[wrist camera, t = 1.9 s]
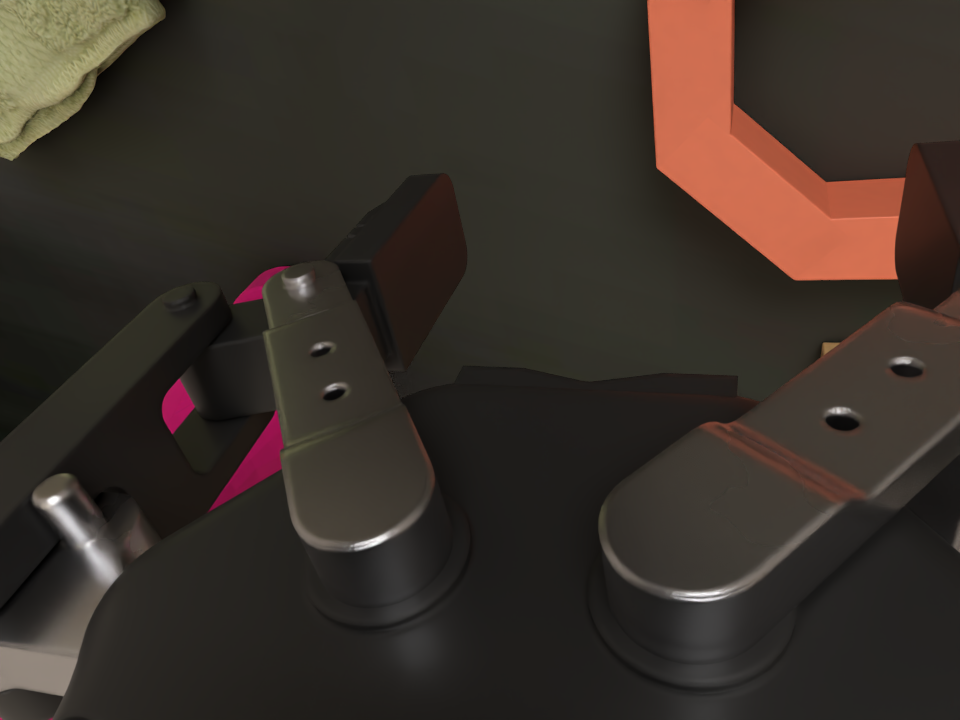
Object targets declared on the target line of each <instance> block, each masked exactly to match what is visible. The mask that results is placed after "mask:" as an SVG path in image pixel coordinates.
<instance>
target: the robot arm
mask: <svg viewBox="0 0 960 720" xmlns="http://www.w3.org/2000/svg"><path fill="white" fill-rule="evenodd" d="M356 226H357V228H353V229H352V231H351V232H350V233H349V234H348V235H347V238H344V239H343V240H342V242H341V243H340V244H339V245H338V246H337V247H336V248H335V249H334V250H333V251H332V253H331V254H330V255H329V256H328V257H327V258H326V259H325V260H314V261H307V262H303V263H299V264H296V265H293V266H290V267H288V268H286V269H283V270H282V271H280V272H278V273H276V274H275V275H273V276H272V277H271V278H270V279H268V281H267V282H266V283H265V284H264V286H263V288H262V296H263V298H262V299H257V300H252V301H247V302H242V303H236V304H231V305H228V303H227V301H226V299H225V297H224V295H223V292H222V290H221V288H220V286H219V285H218V284H216V283H213V282H196V283H190V284H187V285H183V286H179V287H176V288H174V289H172V290H170V291H168V292H166V293H164V294H163V295H161V296H159V297H158V298H156V299H155V300H154V301H152V302H151V303H150V304H149V305H148V306H147V307H146V308H145V309H144V310H143V311H141V312H140V313H139V314H138V315H137V316H136V317H135V318H134V319H133V320H132V321H131V322H130V323H129V324H127V325H126V326H125V327H124V328H123V329H122V330H121V331H120V332H119V333H118V334H117V335H116V336H114V337H113V338H112V339H111V340H110V341H109V342H108V343H107V344H106V345H105V346H104V347H103V348H102V349H100V350H99V351H98V352H97V353H96V354H95V355H94V356H93V357H92V358H91V359H90V360H89V361H88V362H86V363H85V364H84V365H83V366H82V367H81V368H80V369H79V370H78V371H77V372H76V373H75V374H73V375H72V376H71V377H70V378H69V379H68V380H67V381H66V382H65V383H64V384H63V385H62V386H61V387H59V388H58V389H57V390H56V391H55V392H54V393H53V394H52V395H51V396H50V397H49V398H48V399H47V400H45V401H44V402H43V403H42V404H41V405H40V406H39V407H38V408H37V409H36V410H35V411H34V412H32V413H31V414H30V415H29V416H28V417H27V418H26V419H25V420H24V421H23V422H22V423H21V424H20V425H18V426H17V427H16V428H15V429H14V430H13V431H12V432H11V433H10V434H9V435H8V436H7V437H5V438H4V439H3V440H2V441H1V442H0V718H2V719H3V720H49V719H51V718H52V720H960V141H946V142H931V143H916V144H914V145H913V147H912V149H911V152H910V155H909V159H908V165H907V171H906V177H905V183H904V189H903V195H902V201H901V207H900V214H899V220H898V226H897V232H896V239H895V270H896V274H897V278H898V282H899V285H900V289H901V293H902V297H903V300H904V301H898V302H896V303H894V304H892V305H891V306H889V307H888V308H887V309H885V310H884V311H883V312H881V313H880V314H879V315H877V316H876V317H875V318H873V319H872V320H871V321H869V322H868V323H866V324H865V325H864V326H862V327H861V328H860V329H858V330H857V331H856V332H854V333H853V334H852V335H850V336H849V337H848V338H846V339H845V340H844V341H842V342H841V343H840V344H838V345H837V346H835V347H834V348H833V349H831V350H830V351H829V352H827V353H826V354H825V355H823V356H822V357H821V358H819V359H818V360H817V361H815V362H814V363H813V364H811V365H810V366H809V367H807V368H806V369H805V370H803V371H802V372H800V373H799V374H798V375H796V376H795V377H794V378H792V379H791V380H790V381H788V382H787V383H786V384H784V385H783V386H782V387H780V388H779V389H778V390H776V391H775V392H774V393H772V394H771V395H769V396H768V397H767V398H765V399H764V400H763V401H761V402H758V401H755V400H752V399H748V398H744V397H740V396H737V385H738V376H727V375H700V374H673V373H660V374H652V375H644V376H636V377H628V378H619V379H611V380H603V381H594V382H585V381H580V380H575V379H571V378H566V377H562V376H557V375H553V374H548V373H544V372H539V371H535V370H530V369H526V368H508V367H480V366H463V367H462V369H461V371H460V373H459V375H458V377H457V379H456V381H455V383H453V384H446V385H442V386H437V387H433V388H429V389H426V390H423V391H419V392H417V393H414V394H412V395H409V396H407V397H405V398H402V399H400V398H399V395H398V393H397V391H396V389H395V386H394V384H393V382H392V380H391V377H390V375H389V373H388V371H403V372H406V370H407V368H408V367H409V365H410V363H411V362H412V360H413V358H414V357H415V355H416V353H417V352H418V350H419V348H420V347H421V345H422V343H423V342H424V340H425V338H426V337H427V335H428V334H429V332H430V330H431V329H432V327H433V325H434V324H435V322H436V320H437V319H438V317H439V315H440V314H441V312H442V310H443V309H444V307H445V305H446V304H447V302H448V300H449V299H450V297H451V295H452V294H453V292H454V290H455V289H456V287H457V285H458V284H459V282H460V281H461V279H462V277H463V275H464V273H465V270H466V265H467V247H466V242H465V237H464V233H463V228H462V224H461V219H460V215H459V210H458V206H457V201H456V197H455V192H454V188H453V185H452V182H451V180H450V178H449V176H448V175H447V174H444V173H442V174H427V175H411V176H409V177H408V178H407V179H406V180H405V181H404V182H403V183H402V184H401V185H400V186H399V188H398V189H397V190H396V191H395V192H394V193H393V194H392V195H391V197H390V198H389V199H388V200H387V201H386V202H384V203H383V204H381V205H379V206H378V207H376V208H374V209H373V210H371V211H369V212H368V213H367V214H366V215H365V216H364V217H363V218H362V220H361V221H360V222H359V223H358V224H357V225H356ZM178 379H180V381H181V382H182V384H183V386H184V388H185V390H186V392H187V393H188V395H189V397H190V399H191V401H192V402H193V404H194V406H195V407H194V409H193V410H192V411H191V412H190V414H189V415H188V416H187V417H186V418H185V420H184V421H183V422H182V423H181V424H180V426H179V427H178V428H177V429H176V431H175V432H174V433H173V434H172V433H171V431H170V430H169V428H168V426H167V425H166V423H165V421H164V418H163V414H162V404H163V400H164V397H165V395H166V393H167V392H168V391H169V389H170V388H171V387H172V386H173V385H174V384H175V383H176V382H177V380H178ZM275 410H277V413H278V418H279V424H280V429H281V434H282V440H283V446H284V448H283V449H281V450H280V460H281V466H282V469H281V470H279V471H277V472H275V473H274V474H272V475H270V476H269V477H267V478H265V479H264V480H262V481H260V482H259V483H257V484H255V485H254V486H252V487H250V488H248V489H247V490H245V491H243V492H242V493H240V494H238V495H237V496H235V497H233V498H232V499H230V500H228V501H226V502H225V503H223V504H221V505H220V506H218V507H216V508H215V509H213V510H211V511H210V512H208V511H209V510H210V508H211V507H212V505H213V504H214V502H215V501H216V500H217V498H218V497H219V495H220V494H221V492H222V491H223V489H224V488H225V486H226V485H227V484H228V482H229V481H230V479H231V478H232V476H233V475H234V473H235V472H236V470H237V469H238V468H239V466H240V465H241V463H242V462H243V460H244V459H245V457H246V456H247V454H248V453H249V452H250V450H251V449H252V447H253V446H254V444H255V443H256V441H257V440H258V438H259V437H260V435H261V434H262V433H263V431H264V430H265V428H266V427H267V425H268V424H269V422H270V421H271V419H272V418H273V416H274V413H275Z"/></svg>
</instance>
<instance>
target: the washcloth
mask: <svg viewBox="0 0 960 720" xmlns="http://www.w3.org/2000/svg"><path fill="white" fill-rule="evenodd" d="M165 16H166V13H165V8H164V7H163V6H162V4H161V3H160V1H159V0H0V157H4V158H6V159H9V160H11V161H13V159H14V158H18V157H19V154H20V153H21V152H22V151H25V149H26V148H27V147H28V146H29V145H30V144H32V143H33V142H35V141H36V139H38V138H41V137H42V136H44V135H45V134H47V133H49V132H50V131H51V130H53V129H54V128H56V127H58V126H59V125H60V124H61V123H62V122H64V121H66V120H68V119H69V118H70V117H71V116H72V115H74V114H75V113H76V112H78V111H79V110H80V109H81V107H82V105H83V104H84V102H85V101H86V100H87V99H88V97H89V96H90V94H91V92H92V91H93V89H94V87H95V83H96V79H97V76H98V75H99V74H100V73H101V72H103V71H104V70H105V69H106V68H108V67H109V66H110V65H111V64H112V63H113V62H114V61H115V60H116V59H118V57H119V56H120V55H121V54H122V53H123V52H124V51H125V50H126V49H127V48H128V47H129V46H130V45H132V44H133V43H134V42H135V41H136V39H137V38H138V37H139V36H141V35H142V34H143V33H145V32H146V31H147V30H149V29H151V28H152V27H153V26H154V25H155V24H157V23H158V22H159V21H161V20H164V18H165Z"/></svg>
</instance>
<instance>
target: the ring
mask: <svg viewBox="0 0 960 720" xmlns="http://www.w3.org/2000/svg"><path fill="white" fill-rule="evenodd" d="M647 8H648V26H649V44H650V62H651V81H652V99H653V117H654V135H655V154H656V167H657V169H659V170H660V171H661V172H662V173H663V174H665V175H666V176H667V177H668V178H670V179H671V180H672V181H673V182H674V183H676V184H677V185H678V186H679V187H681V188H682V189H683V190H684V191H686V192H687V193H688V194H689V195H690V196H692V197H693V198H694V199H695V200H697V201H698V202H699V203H700V204H701V205H703V206H704V207H705V208H706V209H708V210H709V211H710V212H711V213H712V214H714V215H715V216H716V217H717V218H719V219H720V220H721V221H722V222H723V223H725V224H726V225H727V226H728V227H730V228H731V229H732V230H733V231H735V232H736V233H737V234H738V235H739V236H741V237H742V238H743V239H744V240H746V241H747V242H748V243H749V244H750V245H752V246H753V247H754V248H755V249H757V250H758V251H759V252H760V253H761V254H763V255H764V256H765V257H766V258H768V259H769V260H770V261H771V262H773V263H774V264H775V265H776V266H777V267H779V268H780V269H781V270H782V271H784V272H785V273H786V274H787V275H788V276H790V277H791V278H792V279H793V280H872V279H898V278H897V274H896V270H895V239H896V232H897V226H898V220H899V214H900V207H901V201H902V195H903V189H904V183H905V178H890V179H872V180H853V181H835V182H825V181H824V180H823V179H822V178H820V177H819V176H818V175H817V174H816V173H815V172H813V171H812V170H811V169H810V168H809V167H808V166H806V165H805V164H804V163H803V162H802V161H801V160H799V159H798V158H797V157H796V156H795V155H794V154H792V153H791V152H790V151H789V150H788V149H787V148H785V147H784V146H783V145H782V144H781V143H780V142H778V141H777V140H776V139H775V138H774V137H773V136H771V135H770V134H769V133H768V132H767V131H766V130H764V129H763V128H762V127H761V126H760V125H759V124H757V123H756V122H755V121H754V120H753V119H752V118H750V117H749V116H748V115H747V114H746V113H745V112H743V111H742V110H741V109H740V108H739V107H738V106H736V105H735V104H734V33H735V0H647Z"/></svg>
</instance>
